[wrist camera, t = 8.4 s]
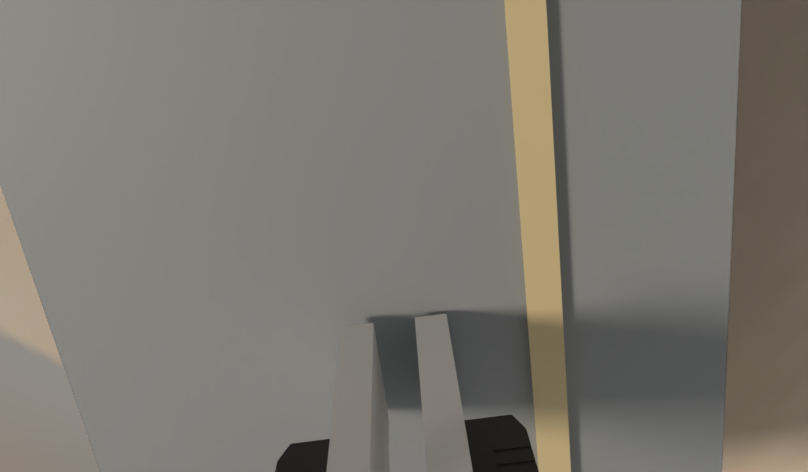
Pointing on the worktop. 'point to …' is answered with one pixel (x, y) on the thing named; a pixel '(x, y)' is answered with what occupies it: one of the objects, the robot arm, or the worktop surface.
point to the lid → (378, 217)
